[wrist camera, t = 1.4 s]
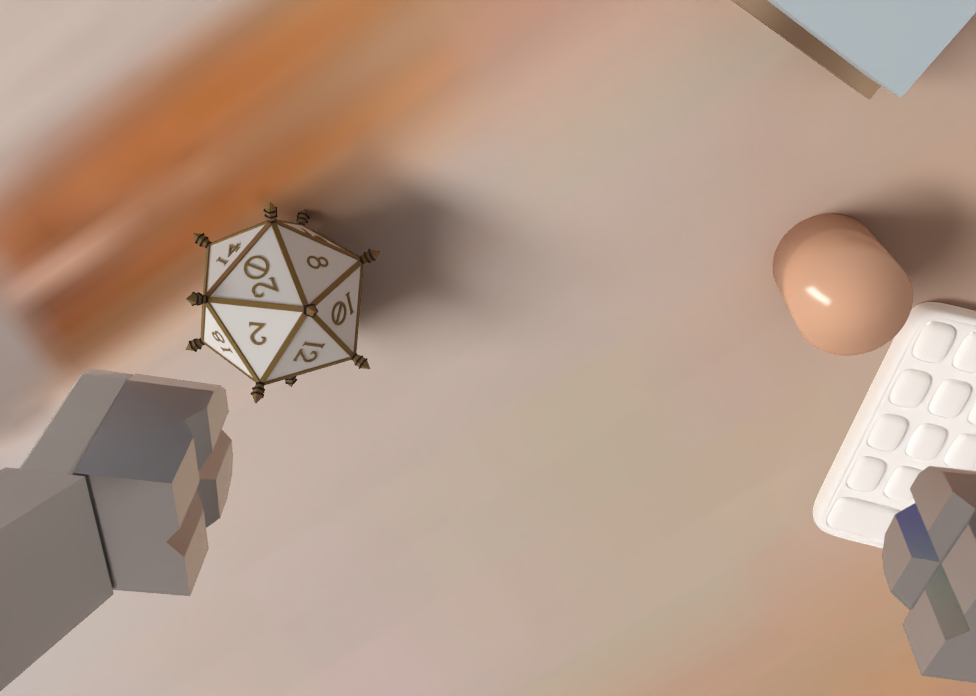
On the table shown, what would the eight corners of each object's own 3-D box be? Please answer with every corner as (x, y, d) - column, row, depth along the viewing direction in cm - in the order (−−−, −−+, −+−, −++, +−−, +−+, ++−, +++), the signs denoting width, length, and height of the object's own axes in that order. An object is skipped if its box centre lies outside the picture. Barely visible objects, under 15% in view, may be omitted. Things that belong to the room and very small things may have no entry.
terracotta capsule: (899, 249, 40) (938, 291, 36) (829, 325, 42) (857, 374, 38) (819, 194, 40) (848, 230, 35) (751, 274, 42) (771, 318, 37)
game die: (288, 236, 47) (113, 218, 39) (410, 190, 42) (238, 160, 34) (313, 404, 46) (139, 422, 38) (439, 378, 41) (270, 392, 33)
